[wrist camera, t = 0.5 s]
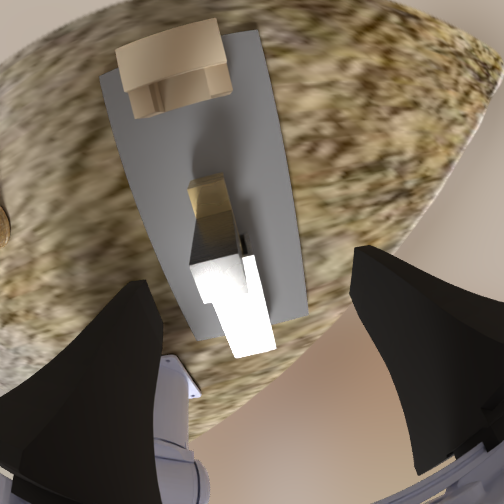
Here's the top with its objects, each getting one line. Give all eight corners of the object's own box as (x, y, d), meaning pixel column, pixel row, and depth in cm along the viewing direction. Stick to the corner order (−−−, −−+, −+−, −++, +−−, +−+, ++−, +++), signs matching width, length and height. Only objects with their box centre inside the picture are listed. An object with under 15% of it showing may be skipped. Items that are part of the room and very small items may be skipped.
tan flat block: (238, 329, 22) (248, 400, 16) (190, 180, 16) (174, 226, 10) (262, 323, 22) (278, 393, 16) (222, 171, 16) (227, 212, 10)
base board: (197, 333, 24) (196, 341, 23) (104, 77, 13) (98, 76, 12) (305, 307, 24) (308, 314, 23) (255, 33, 13) (257, 29, 12)
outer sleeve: (232, 329, 23) (235, 358, 20) (201, 243, 18) (199, 268, 16) (269, 320, 23) (276, 348, 20) (247, 231, 18) (253, 255, 16)
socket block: (149, 117, 14) (131, 119, 11) (134, 60, 12) (114, 49, 9) (230, 94, 14) (233, 88, 11) (215, 36, 12) (216, 17, 9)
